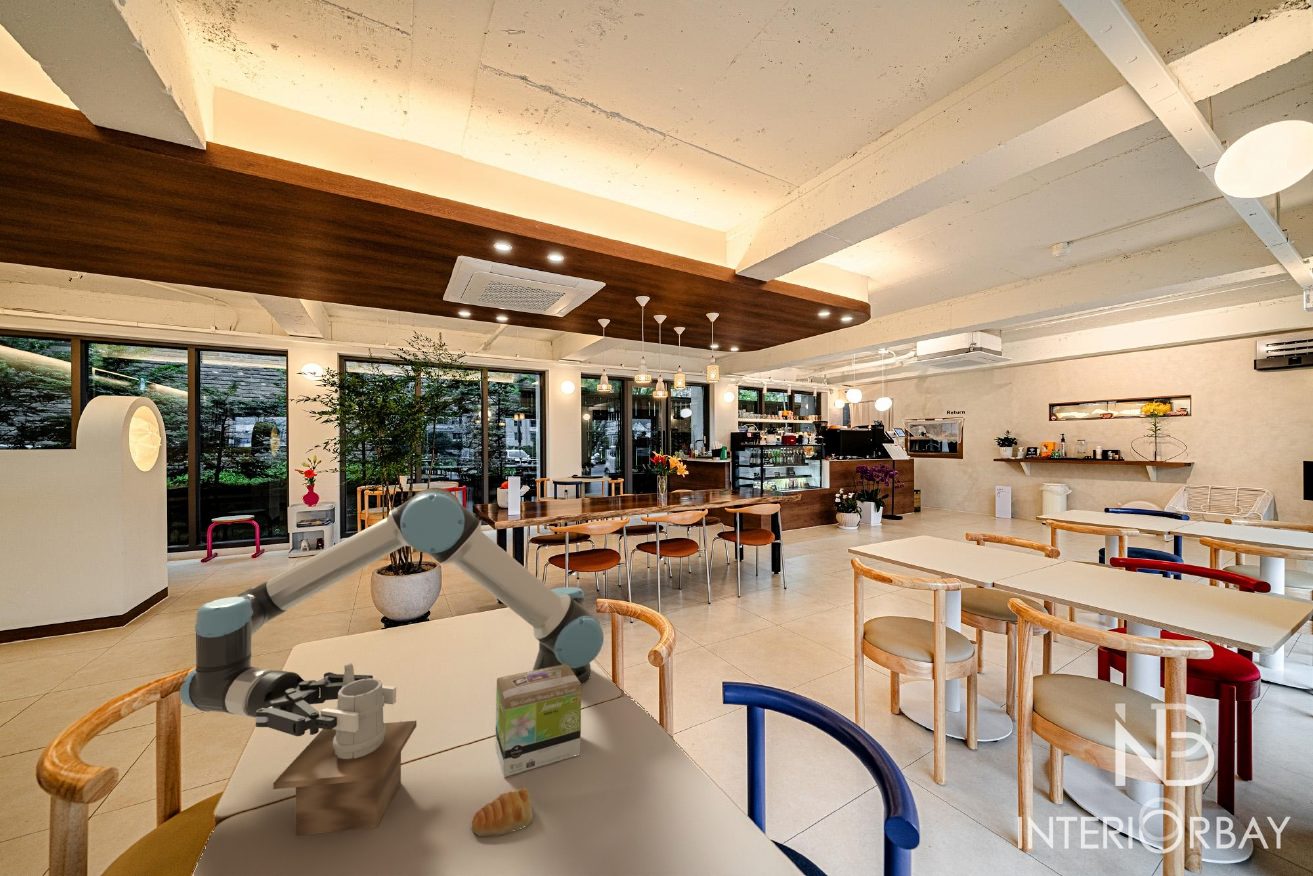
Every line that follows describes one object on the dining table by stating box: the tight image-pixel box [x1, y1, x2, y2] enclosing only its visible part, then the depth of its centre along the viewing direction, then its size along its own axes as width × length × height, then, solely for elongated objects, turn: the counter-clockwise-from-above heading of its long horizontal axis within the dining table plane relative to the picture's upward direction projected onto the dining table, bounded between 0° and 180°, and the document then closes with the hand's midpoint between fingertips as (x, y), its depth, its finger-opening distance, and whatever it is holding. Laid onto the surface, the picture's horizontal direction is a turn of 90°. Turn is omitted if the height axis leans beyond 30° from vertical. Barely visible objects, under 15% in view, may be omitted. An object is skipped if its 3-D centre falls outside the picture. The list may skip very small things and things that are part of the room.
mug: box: [333, 662, 386, 759], centre depth 82 cm, size 8×12×12 cm, turn 50°
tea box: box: [494, 664, 582, 778], centre depth 95 cm, size 15×10×15 cm, turn 117°
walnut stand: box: [272, 720, 418, 837], centre depth 81 cm, size 16×14×10 cm
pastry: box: [471, 787, 534, 837], centre depth 78 cm, size 9×7×4 cm
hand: (376, 708), depth 80 cm, fingers closed on mug, 7 cm apart
